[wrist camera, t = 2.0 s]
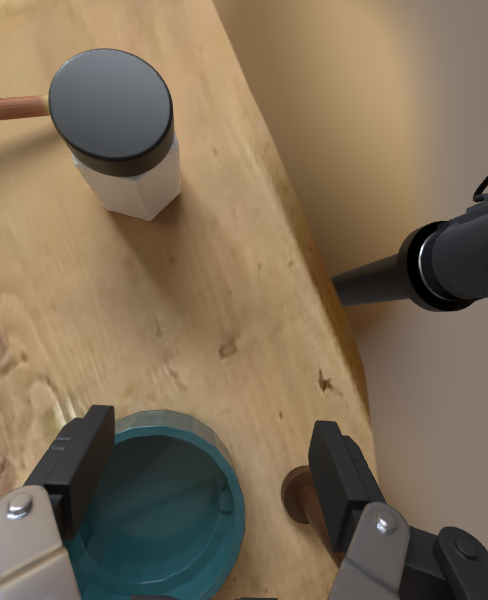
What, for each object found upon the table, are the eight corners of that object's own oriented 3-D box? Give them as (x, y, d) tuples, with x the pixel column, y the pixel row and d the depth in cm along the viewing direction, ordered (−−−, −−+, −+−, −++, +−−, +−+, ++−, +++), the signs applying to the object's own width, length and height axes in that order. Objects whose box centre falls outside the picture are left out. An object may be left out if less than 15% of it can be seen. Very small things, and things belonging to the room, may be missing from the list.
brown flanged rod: (288, 460, 34) (355, 550, 21) (333, 471, 35) (427, 564, 21) (275, 511, 34) (335, 639, 20) (321, 521, 34) (410, 652, 21)
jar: (190, 157, 35) (191, 71, 23) (171, 228, 34) (163, 177, 22) (104, 131, 34) (60, 26, 22) (82, 205, 33) (24, 137, 21)
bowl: (101, 390, 32) (81, 405, 26) (252, 429, 34) (266, 450, 28) (43, 559, 30) (8, 617, 24) (208, 589, 32) (213, 648, 26)
